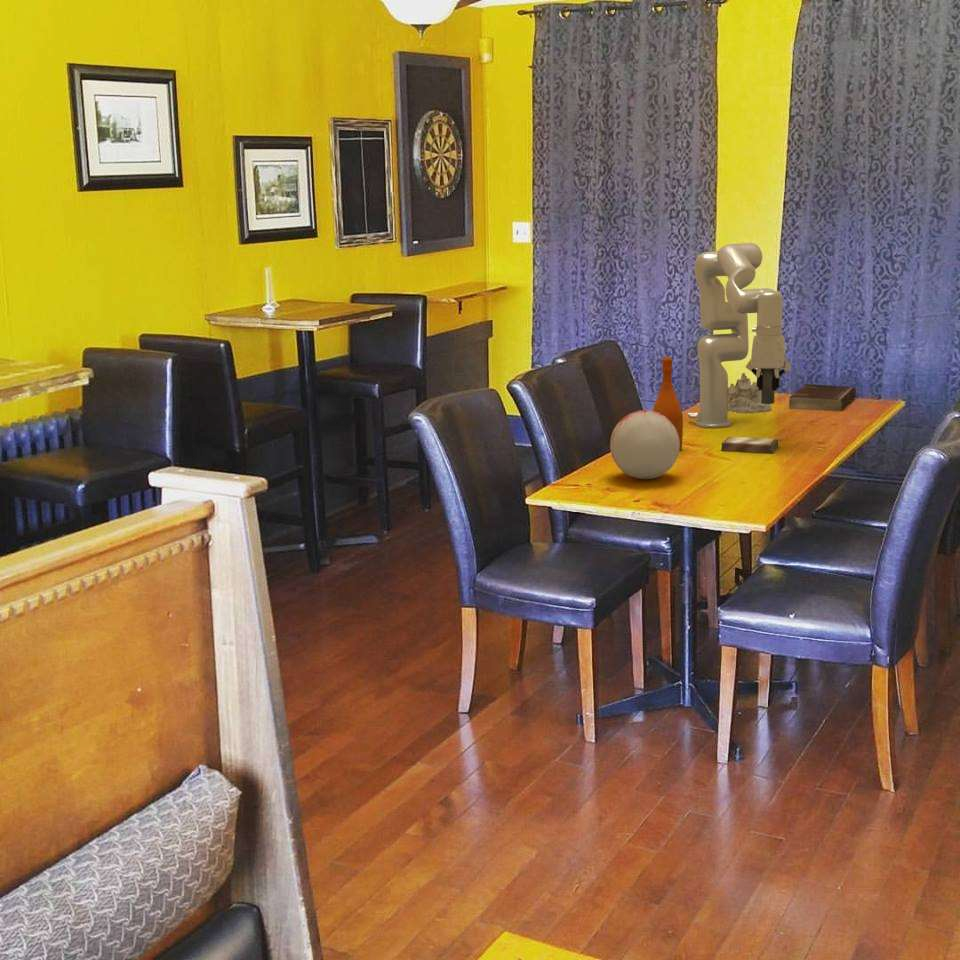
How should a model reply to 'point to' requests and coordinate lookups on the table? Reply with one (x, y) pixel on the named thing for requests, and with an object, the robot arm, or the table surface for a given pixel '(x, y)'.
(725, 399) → the robot arm
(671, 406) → the wine bottle
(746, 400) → the miniature castle
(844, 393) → the hardback book
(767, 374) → the marker
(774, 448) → the picture frame
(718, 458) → the table surface
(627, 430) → the decorative orb
